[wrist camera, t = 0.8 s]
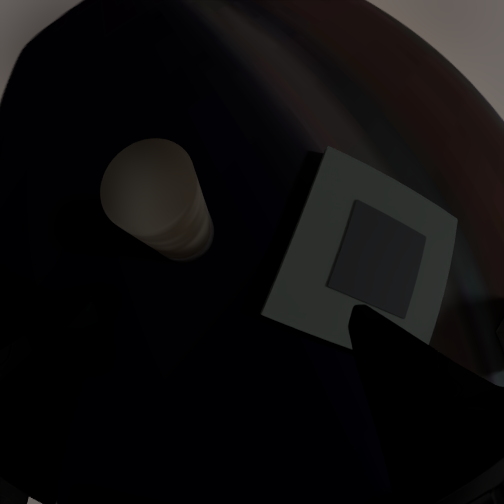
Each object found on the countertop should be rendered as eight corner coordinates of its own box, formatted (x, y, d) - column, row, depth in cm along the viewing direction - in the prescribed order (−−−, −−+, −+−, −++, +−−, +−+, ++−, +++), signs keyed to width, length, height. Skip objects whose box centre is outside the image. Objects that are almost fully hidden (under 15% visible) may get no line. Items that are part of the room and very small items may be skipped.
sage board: (410, 368, 22) (419, 371, 21) (259, 313, 23) (261, 314, 21) (449, 222, 25) (458, 218, 24) (323, 153, 25) (328, 144, 24)
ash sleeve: (173, 274, 23) (122, 253, 12) (146, 224, 24) (88, 172, 13) (225, 242, 24) (215, 195, 13) (195, 194, 24) (169, 122, 13)
